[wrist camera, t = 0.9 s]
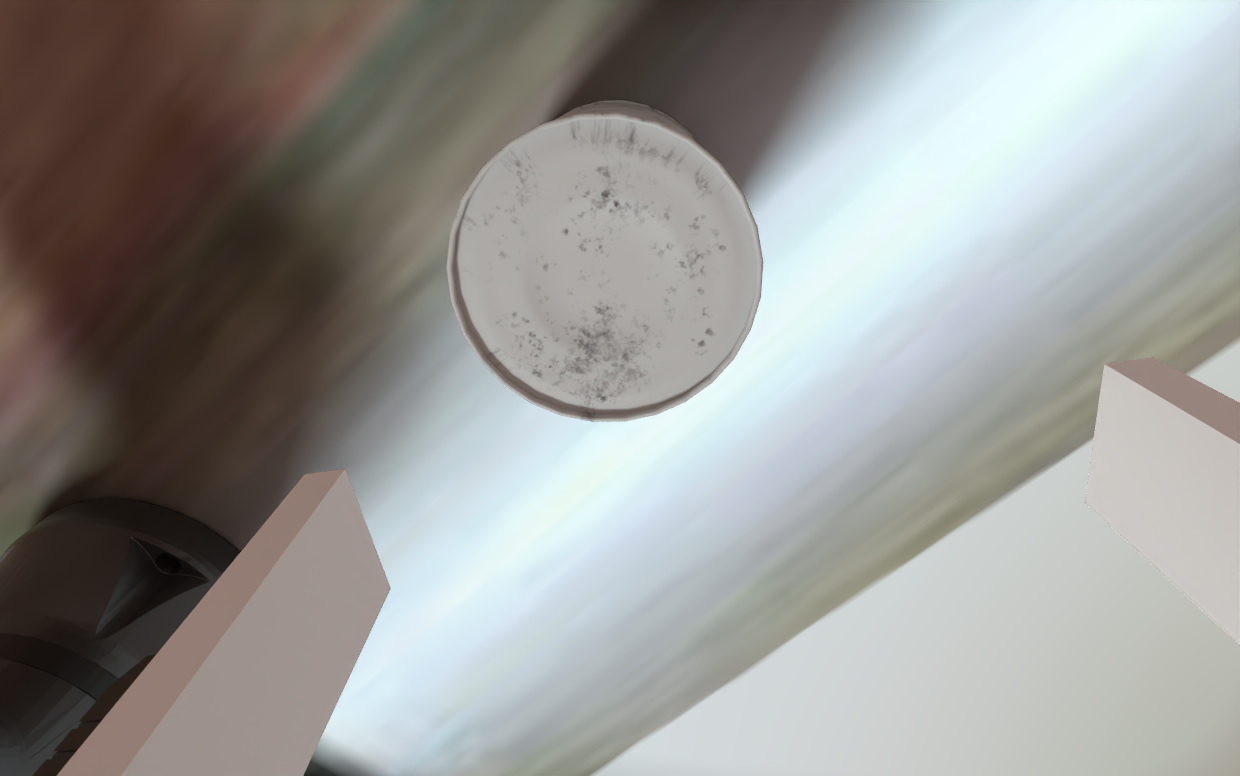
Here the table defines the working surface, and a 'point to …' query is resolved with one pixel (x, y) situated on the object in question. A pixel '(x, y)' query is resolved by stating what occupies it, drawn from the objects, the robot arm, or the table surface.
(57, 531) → the robot arm
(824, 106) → the table surface
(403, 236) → the table surface
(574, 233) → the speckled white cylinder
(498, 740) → the table surface
